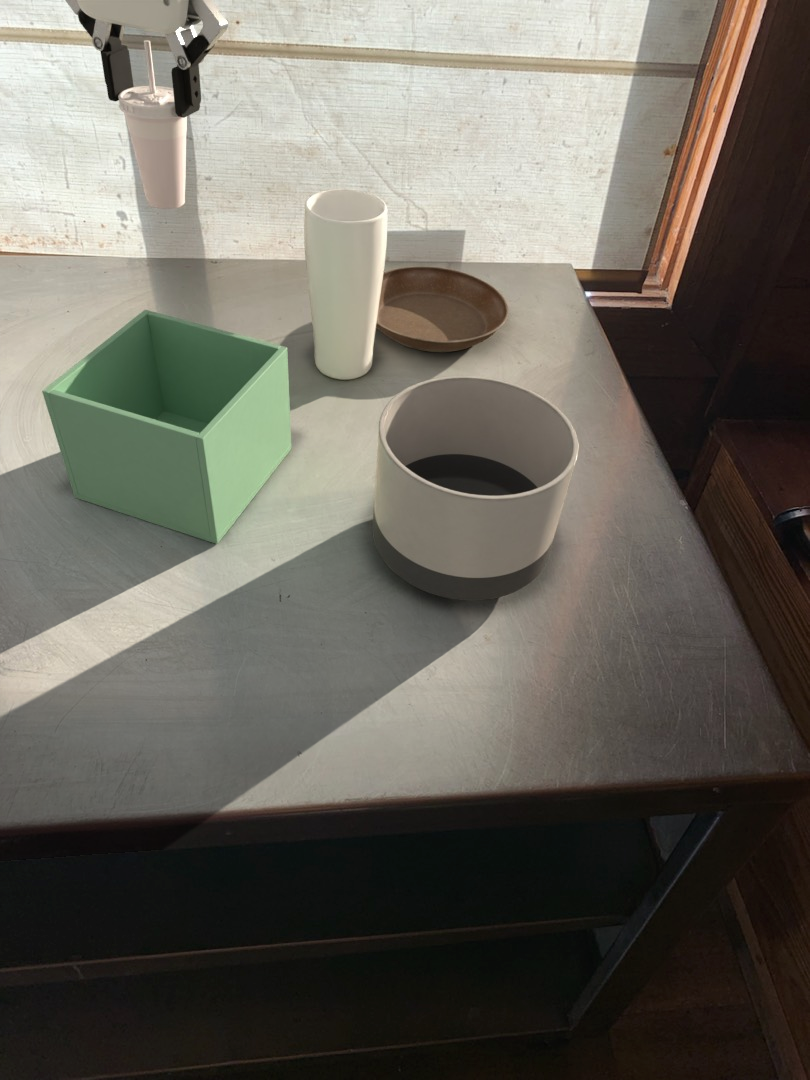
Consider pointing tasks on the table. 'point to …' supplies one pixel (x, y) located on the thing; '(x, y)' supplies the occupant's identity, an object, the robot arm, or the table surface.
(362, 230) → the white cup
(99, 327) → the table surface
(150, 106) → the smoothie
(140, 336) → the bin
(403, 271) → the saucer
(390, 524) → the planter
